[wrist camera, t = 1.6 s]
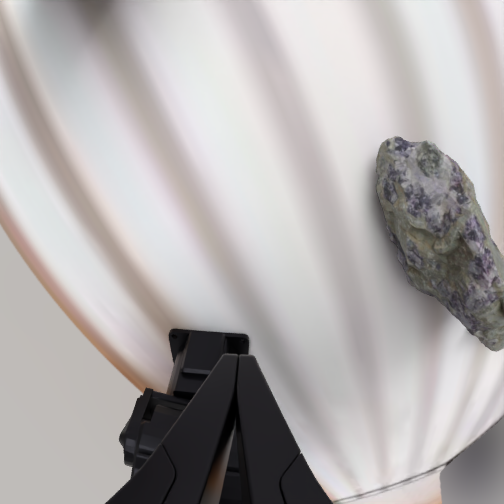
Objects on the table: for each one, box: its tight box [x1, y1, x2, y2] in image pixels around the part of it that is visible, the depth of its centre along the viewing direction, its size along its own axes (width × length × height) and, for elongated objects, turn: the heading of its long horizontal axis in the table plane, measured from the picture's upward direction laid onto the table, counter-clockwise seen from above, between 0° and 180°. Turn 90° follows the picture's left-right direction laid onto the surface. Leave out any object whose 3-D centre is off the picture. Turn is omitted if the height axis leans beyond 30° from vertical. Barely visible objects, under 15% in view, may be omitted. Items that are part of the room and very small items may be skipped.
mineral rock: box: [376, 136, 504, 352], centre depth 15 cm, size 13×11×10 cm
